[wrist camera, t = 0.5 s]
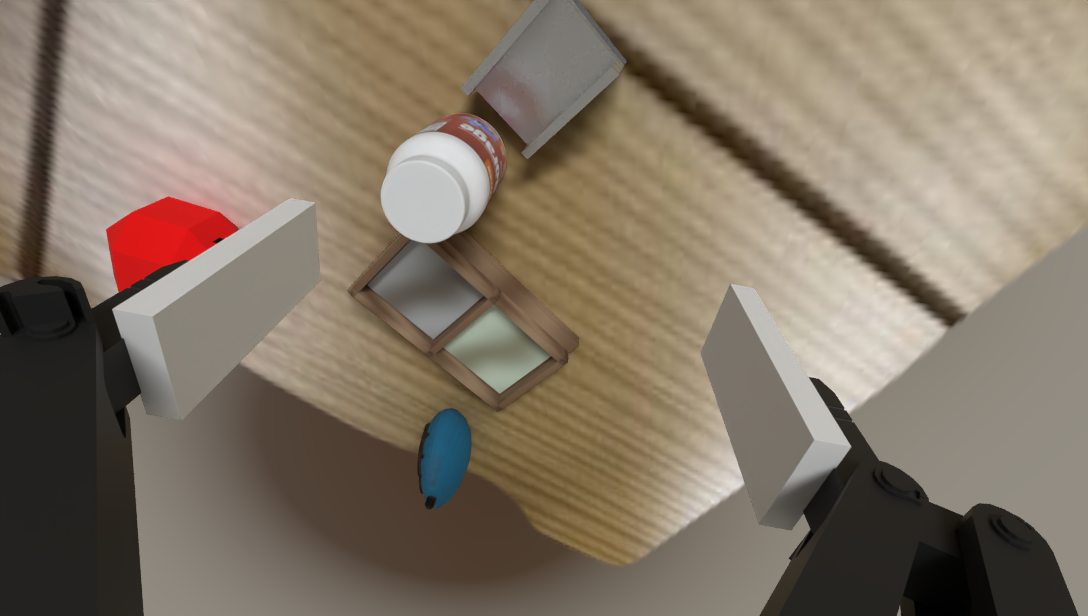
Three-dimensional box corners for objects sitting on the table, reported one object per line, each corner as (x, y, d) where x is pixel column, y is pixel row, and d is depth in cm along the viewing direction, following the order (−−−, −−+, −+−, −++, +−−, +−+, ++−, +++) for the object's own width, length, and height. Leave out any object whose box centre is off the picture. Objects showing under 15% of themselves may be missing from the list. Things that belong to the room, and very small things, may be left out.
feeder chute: (470, 83, 34) (453, 93, 29) (561, -21, 30) (557, -28, 26) (531, 149, 36) (523, 167, 31) (623, 58, 32) (629, 64, 28)
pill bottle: (522, 176, 37) (499, 232, 27) (451, 208, 38) (407, 272, 29) (481, 94, 34) (440, 125, 24) (408, 133, 36) (343, 175, 26)
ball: (261, 292, 44) (204, 341, 37) (169, 266, 43) (94, 310, 36) (262, 211, 40) (198, 250, 33) (160, 180, 39) (74, 213, 32)
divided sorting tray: (352, 284, 43) (339, 299, 40) (432, 200, 38) (422, 212, 36) (494, 399, 48) (490, 418, 46) (579, 337, 44) (578, 355, 41)
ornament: (428, 390, 48) (394, 471, 40) (475, 394, 48) (451, 476, 39) (434, 450, 52) (404, 535, 44) (477, 454, 52) (456, 540, 44)
